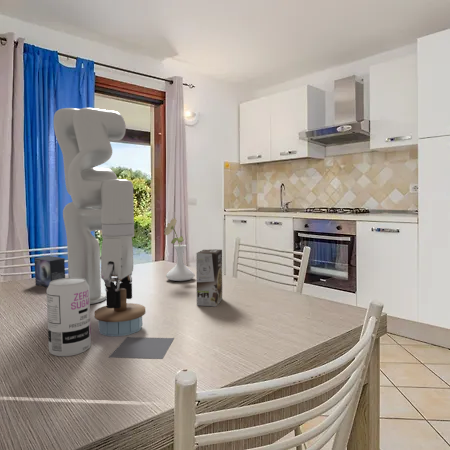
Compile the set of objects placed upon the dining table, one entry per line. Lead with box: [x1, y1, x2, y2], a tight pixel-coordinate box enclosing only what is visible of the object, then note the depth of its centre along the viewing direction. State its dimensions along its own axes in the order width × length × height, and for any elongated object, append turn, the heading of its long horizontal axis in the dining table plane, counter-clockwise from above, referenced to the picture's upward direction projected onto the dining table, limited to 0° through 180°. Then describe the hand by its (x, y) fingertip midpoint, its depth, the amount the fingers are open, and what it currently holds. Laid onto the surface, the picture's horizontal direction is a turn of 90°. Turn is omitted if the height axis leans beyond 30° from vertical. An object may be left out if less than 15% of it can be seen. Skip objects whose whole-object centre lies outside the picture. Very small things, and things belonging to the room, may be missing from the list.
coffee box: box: [195, 249, 223, 307], centre depth 115 cm, size 9×6×16 cm
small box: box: [33, 255, 66, 289], centre depth 140 cm, size 11×6×10 cm, turn 56°
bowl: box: [97, 316, 143, 337], centre depth 91 cm, size 10×10×4 cm
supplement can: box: [46, 277, 92, 357], centre depth 79 cm, size 8×8×15 cm
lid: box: [94, 288, 146, 322], centre depth 91 cm, size 12×12×6 cm
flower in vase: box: [163, 217, 196, 282], centre depth 147 cm, size 13×11×25 cm
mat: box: [108, 336, 175, 360], centre depth 80 cm, size 11×11×1 cm
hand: (120, 302), depth 91 cm, fingers open, 7 cm apart
